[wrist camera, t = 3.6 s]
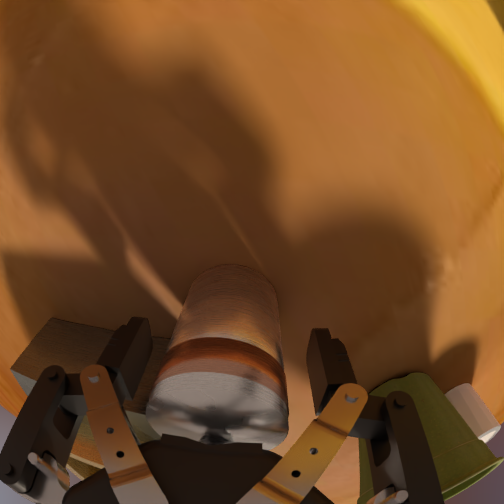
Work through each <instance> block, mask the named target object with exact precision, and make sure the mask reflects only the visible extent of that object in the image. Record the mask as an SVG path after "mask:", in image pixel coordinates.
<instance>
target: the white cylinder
mask: <svg viewBox="0 0 504 504" xmlns="http://www.w3.org/2000/svg"><path fill="white" fill-rule="evenodd" d="M444 395H445V396H446V397H447V399H448V400H449V401H450V402H451V404H452V405H453V406H454V407H455V409H456V410H457V411H458V413H459V414H460V415H461V417H462V418H463V419H464V420H465V422H466V423H467V424H468V426H469V427H470V428H471V430H472V431H473V432H474V434H475V435H476V436H477V438H478V439H480V440H483V441H484V443H485V444H486V443H487V442H488V441H489V440H490V439H492V438H493V437H494V435H495V434H496V433H497V432H498V431H499V429H500V428H501V426H500V424H499V423H498V421H497V420H496V419H495V417H494V416H493V414H492V413H491V411H490V410H489V409H488V407H487V406H486V405H485V403H484V402H483V400H482V399H481V398H480V396H479V395H478V394H477V392H476V391H475V390H474V388H473V387H472V386H471V385H470V384H469V383H464V384H461V385H459V386H456V387H455V388H453V389H451V390H450V391H448V392H447V393H446V394H444Z"/></svg>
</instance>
